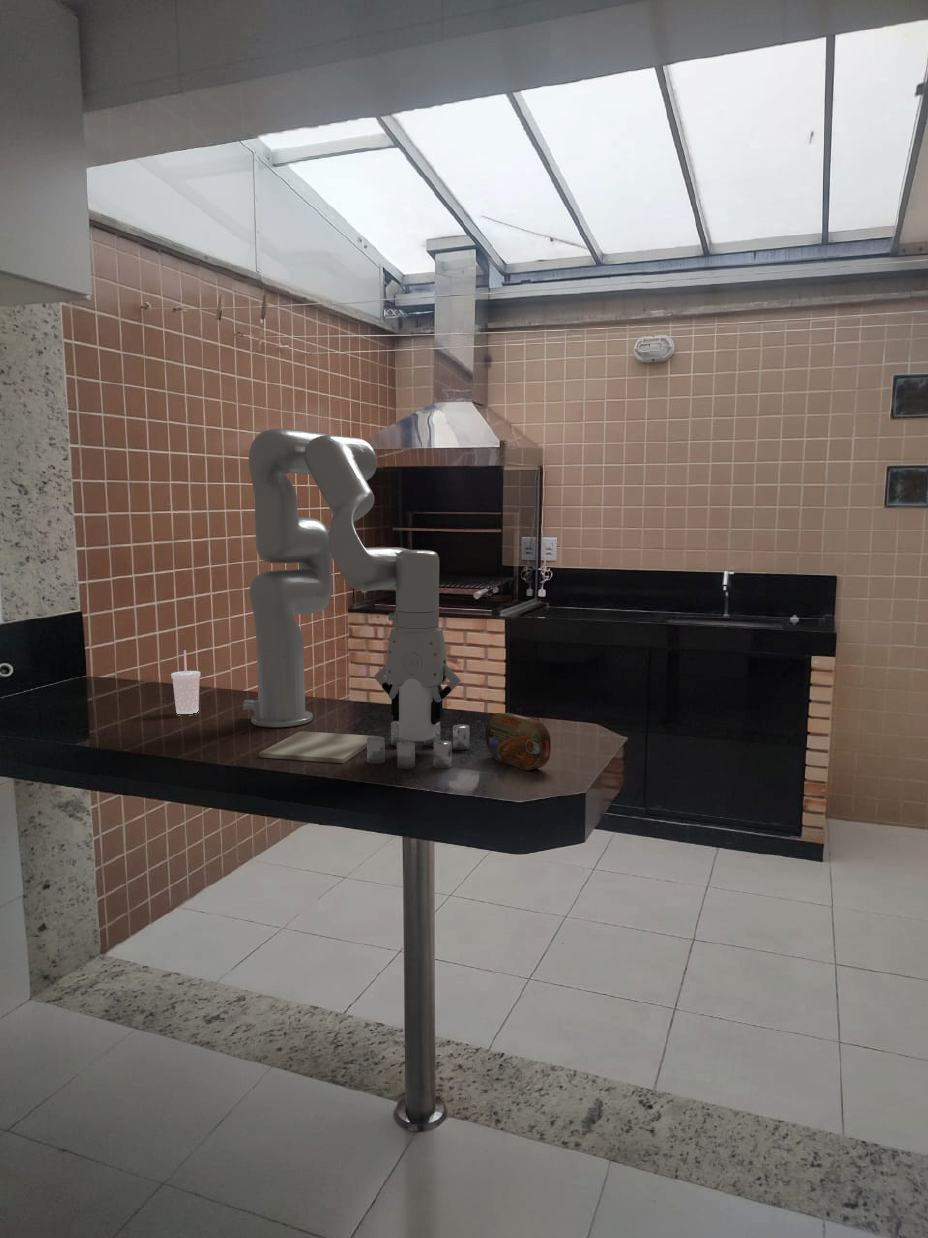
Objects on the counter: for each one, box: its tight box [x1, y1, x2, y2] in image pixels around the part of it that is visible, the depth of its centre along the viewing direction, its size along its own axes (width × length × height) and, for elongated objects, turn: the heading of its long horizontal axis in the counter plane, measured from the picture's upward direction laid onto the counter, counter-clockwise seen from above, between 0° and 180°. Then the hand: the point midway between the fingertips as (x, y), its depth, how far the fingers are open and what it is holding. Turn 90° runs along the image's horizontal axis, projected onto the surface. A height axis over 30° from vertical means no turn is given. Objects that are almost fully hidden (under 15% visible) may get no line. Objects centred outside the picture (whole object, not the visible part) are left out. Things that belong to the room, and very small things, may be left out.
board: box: [258, 731, 376, 764], centre depth 149 cm, size 16×16×1 cm
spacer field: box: [366, 720, 470, 770], centre depth 144 cm, size 15×18×4 cm
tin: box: [485, 712, 552, 771], centre depth 138 cm, size 15×3×8 cm, turn 35°
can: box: [398, 674, 435, 743], centre depth 144 cm, size 6×6×12 cm
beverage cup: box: [170, 649, 201, 715], centre depth 178 cm, size 6×6×14 cm
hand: (416, 720), depth 144 cm, fingers closed on can, 6 cm apart
